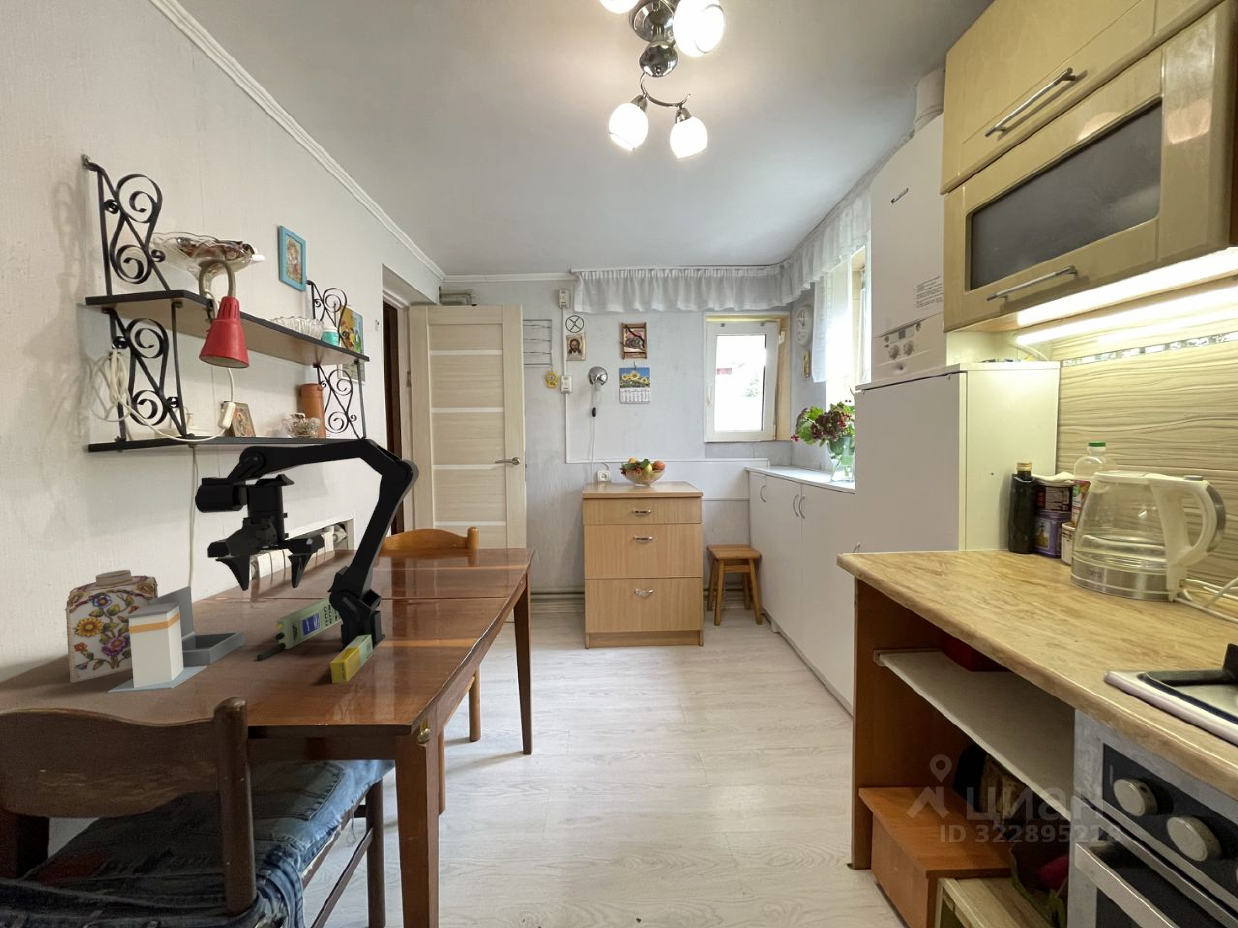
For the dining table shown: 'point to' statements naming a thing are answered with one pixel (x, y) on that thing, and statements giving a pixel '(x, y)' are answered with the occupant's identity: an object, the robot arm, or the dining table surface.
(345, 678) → the medication box
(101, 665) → the decorative jar
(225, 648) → the case
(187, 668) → the pad
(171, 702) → the dining table surface
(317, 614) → the handheld radio
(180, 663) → the block
